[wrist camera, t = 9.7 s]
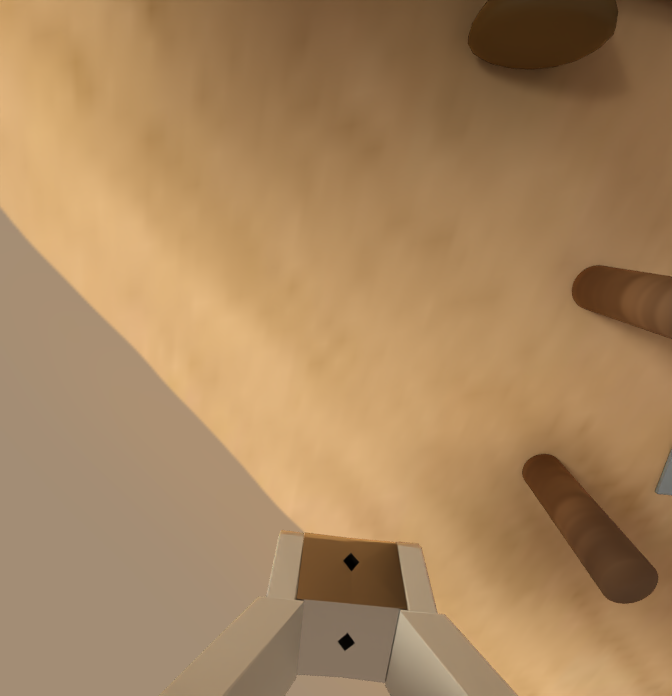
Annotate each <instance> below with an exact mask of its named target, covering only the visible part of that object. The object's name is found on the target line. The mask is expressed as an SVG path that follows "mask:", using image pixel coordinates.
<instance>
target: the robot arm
mask: <svg viewBox="0 0 672 696" xmlns="http://www.w3.org/2000/svg"><path fill="white" fill-rule="evenodd" d="M296 675H312V676H329V677H343V678H351V679H359V680H367V681H374V682H382V683H386V685H385V686H386V688H387V690H388V692H389V693H390V695H391V696H518V695H517V694H516V693H515V692H514V691H513V690H512V688H511V687H510V686H509V685H508V684H507V683H506V682H505V681H504V680H503V678H502V677H501V676H500V675H499V674H498V673H497V672H496V671H495V669H494V668H493V667H492V666H491V665H490V664H489V663H488V662H487V661H486V659H485V658H484V657H483V656H482V655H481V654H480V653H479V652H478V651H477V649H476V648H475V647H474V646H473V645H472V644H471V643H470V642H469V640H468V639H467V638H466V637H465V636H464V635H463V634H462V633H461V632H460V630H459V629H458V628H457V627H456V626H455V625H454V624H453V623H452V621H451V620H450V619H449V618H448V617H447V616H446V615H445V614H438V613H437V609H436V605H435V601H434V597H433V593H432V588H431V584H430V580H429V576H428V572H427V568H426V564H425V560H424V556H423V552H422V548H421V546H420V545H419V544H418V543H405V542H390V541H379V540H367V539H356V538H345V537H337V536H329V535H321V534H313V533H305V535H304V533H300V532H292V531H285V530H281V532H280V534H279V537H278V542H277V547H276V551H275V556H274V562H273V566H272V571H271V575H270V580H269V585H268V590H267V595H266V597H257V599H256V600H254V601H253V602H252V603H251V604H250V606H249V607H247V608H246V610H244V611H243V612H242V613H241V614H240V615H239V616H238V617H237V618H236V619H235V620H234V621H233V622H232V623H231V624H230V625H229V627H227V628H226V629H225V630H224V631H223V632H222V633H221V634H220V635H219V636H218V637H217V638H216V639H215V640H214V641H213V642H212V643H211V644H210V645H209V646H208V647H207V648H206V649H205V650H204V651H203V652H202V653H201V654H200V655H199V656H198V657H197V658H196V659H195V660H194V661H193V662H192V663H191V664H190V665H189V666H188V667H187V668H186V669H185V670H184V671H183V672H182V673H181V674H180V675H179V676H178V677H177V678H176V679H175V680H174V681H173V682H172V683H171V684H170V685H169V686H168V687H167V688H166V689H165V690H164V691H163V692H162V693H161V694H160V695H159V696H285V694H286V693H287V691H288V690H289V688H290V687H291V685H292V684H293V682H294V681H295V679H296Z"/></svg>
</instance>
